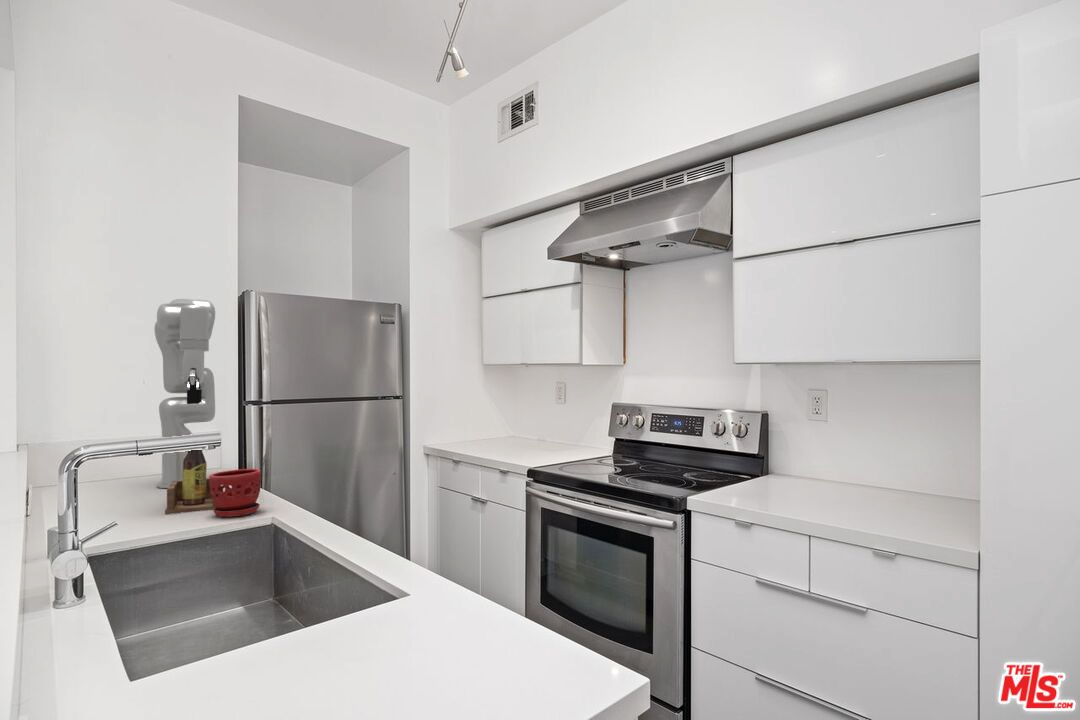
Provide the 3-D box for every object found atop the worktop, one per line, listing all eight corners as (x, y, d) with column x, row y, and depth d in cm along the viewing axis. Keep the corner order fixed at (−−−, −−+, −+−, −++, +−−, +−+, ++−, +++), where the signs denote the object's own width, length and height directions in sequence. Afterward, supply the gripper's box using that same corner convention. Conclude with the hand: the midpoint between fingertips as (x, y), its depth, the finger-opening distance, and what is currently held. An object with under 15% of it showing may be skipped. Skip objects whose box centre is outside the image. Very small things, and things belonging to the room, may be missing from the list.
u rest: (170, 504, 179) (170, 481, 179) (222, 499, 185) (222, 477, 186) (164, 514, 167) (164, 489, 167) (220, 508, 173) (220, 484, 173)
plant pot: (265, 506, 175) (264, 466, 175) (255, 517, 162) (255, 474, 162) (216, 510, 171) (216, 469, 172) (203, 521, 159) (203, 476, 159)
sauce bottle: (198, 505, 172) (198, 438, 173) (177, 506, 172) (177, 438, 173) (211, 500, 179) (211, 436, 179) (190, 501, 179) (191, 436, 179)
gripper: (182, 347, 182) (182, 402, 182) (177, 345, 167) (177, 404, 167) (210, 347, 186) (210, 401, 186) (207, 345, 170) (207, 404, 170)
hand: (194, 403), depth 176 cm, fingers open, 9 cm apart
